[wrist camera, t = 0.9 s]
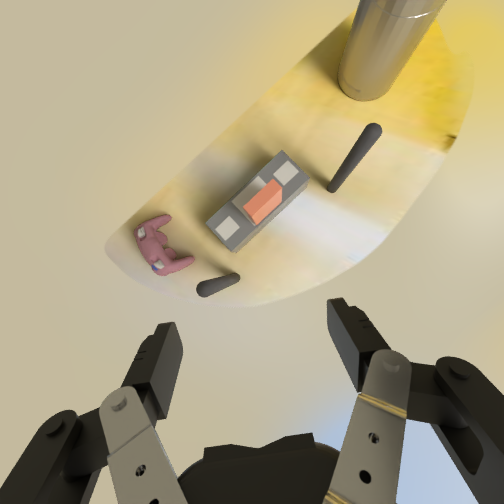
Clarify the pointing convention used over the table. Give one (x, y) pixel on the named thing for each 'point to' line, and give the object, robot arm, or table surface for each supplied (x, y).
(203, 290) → the cord posts
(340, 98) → the table surface
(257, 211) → the block
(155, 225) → the video game controller
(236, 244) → the breaker block
